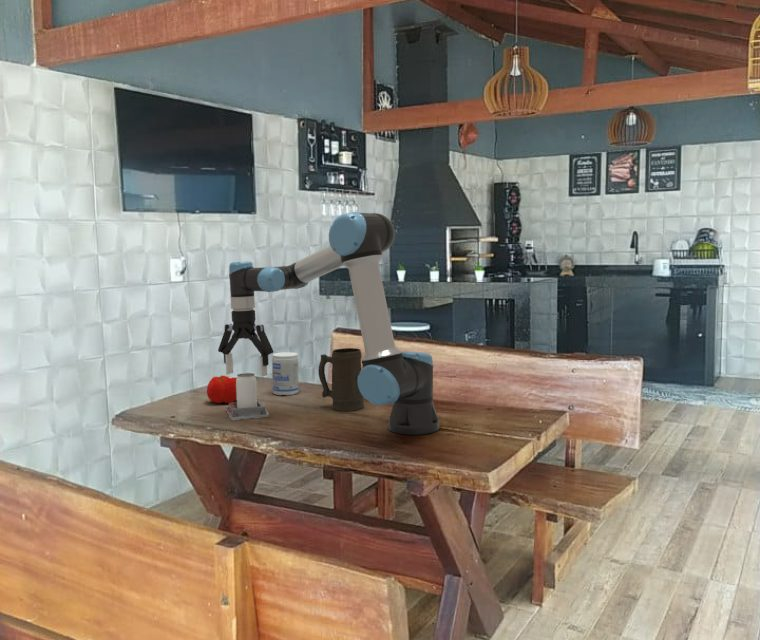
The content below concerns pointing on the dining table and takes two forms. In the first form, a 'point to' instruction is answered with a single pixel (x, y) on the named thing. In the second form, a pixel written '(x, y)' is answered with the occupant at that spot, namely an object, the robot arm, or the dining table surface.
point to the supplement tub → (285, 373)
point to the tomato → (222, 389)
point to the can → (246, 390)
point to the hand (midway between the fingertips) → (246, 374)
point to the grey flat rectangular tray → (246, 411)
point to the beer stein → (343, 379)
